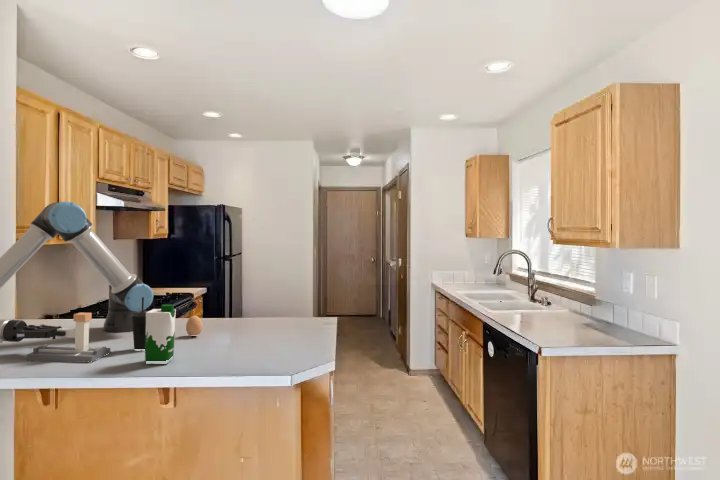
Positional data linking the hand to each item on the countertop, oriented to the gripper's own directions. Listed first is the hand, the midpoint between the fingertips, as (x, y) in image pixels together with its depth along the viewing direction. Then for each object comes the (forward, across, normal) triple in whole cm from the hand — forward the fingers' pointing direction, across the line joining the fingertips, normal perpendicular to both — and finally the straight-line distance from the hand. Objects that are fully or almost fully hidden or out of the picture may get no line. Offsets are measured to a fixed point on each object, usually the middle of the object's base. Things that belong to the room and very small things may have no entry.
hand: (76, 333), depth 165 cm
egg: (+29, -37, -9) cm, 47 cm away
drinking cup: (+17, -13, -9) cm, 23 cm away
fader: (+2, 0, -6) cm, 6 cm away
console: (-2, 0, -8) cm, 9 cm away
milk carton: (+30, +2, -9) cm, 31 cm away
